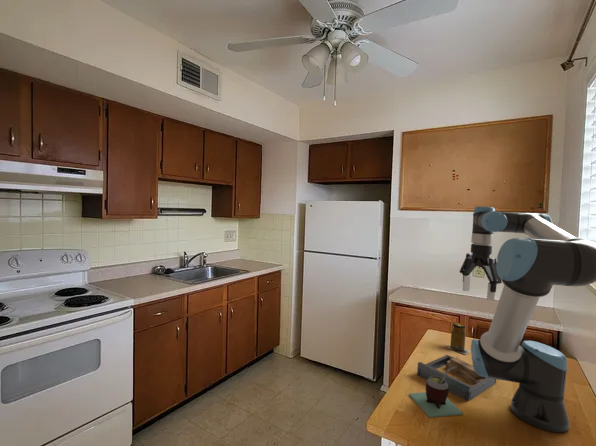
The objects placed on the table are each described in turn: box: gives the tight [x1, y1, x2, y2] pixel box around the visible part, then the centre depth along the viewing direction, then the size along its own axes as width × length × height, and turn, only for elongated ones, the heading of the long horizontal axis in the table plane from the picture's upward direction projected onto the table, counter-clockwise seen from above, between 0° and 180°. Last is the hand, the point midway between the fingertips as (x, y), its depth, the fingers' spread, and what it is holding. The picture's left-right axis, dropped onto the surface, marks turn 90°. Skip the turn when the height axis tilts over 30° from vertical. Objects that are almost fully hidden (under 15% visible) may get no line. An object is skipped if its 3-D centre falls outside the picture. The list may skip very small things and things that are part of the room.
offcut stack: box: [445, 357, 483, 385], centre depth 128 cm, size 14×4×5 cm, turn 24°
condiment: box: [446, 322, 471, 355], centre depth 152 cm, size 7×8×12 cm
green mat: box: [408, 391, 464, 418], centre depth 107 cm, size 12×12×1 cm
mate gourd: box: [425, 366, 457, 409], centre depth 107 cm, size 8×8×15 cm
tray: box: [416, 354, 497, 402], centre depth 125 cm, size 20×22×5 cm
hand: (477, 295), depth 132 cm, fingers open, 13 cm apart
